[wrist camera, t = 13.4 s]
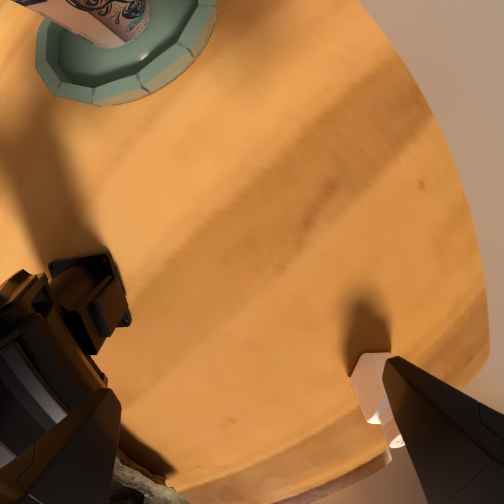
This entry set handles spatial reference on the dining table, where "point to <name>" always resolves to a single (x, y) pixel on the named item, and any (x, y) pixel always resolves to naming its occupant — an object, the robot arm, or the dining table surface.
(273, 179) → the dining table surface
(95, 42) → the beer can
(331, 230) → the dining table surface
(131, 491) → the driftwood piece
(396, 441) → the pepper shaker
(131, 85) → the bowl
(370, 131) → the dining table surface
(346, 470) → the dining table surface
